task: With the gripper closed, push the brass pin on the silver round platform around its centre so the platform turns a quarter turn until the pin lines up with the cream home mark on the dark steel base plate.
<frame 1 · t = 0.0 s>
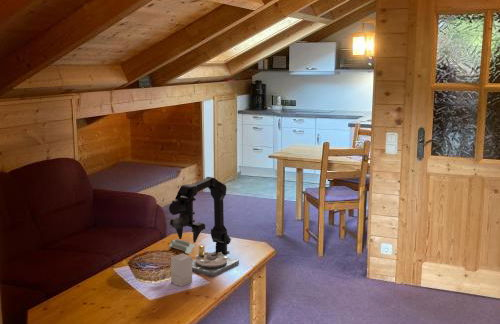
hand: (187, 240, 266), 15 cm above the table, tool pointing down, fingers open, 9 cm apart
supplement box: (181, 282, 252), on the table
base plate: (211, 266, 273), on the table
metal bracket: (181, 250, 298), on the table
silver round platform: (211, 255, 272), point 6 cm above the table, hinge at 0.0°
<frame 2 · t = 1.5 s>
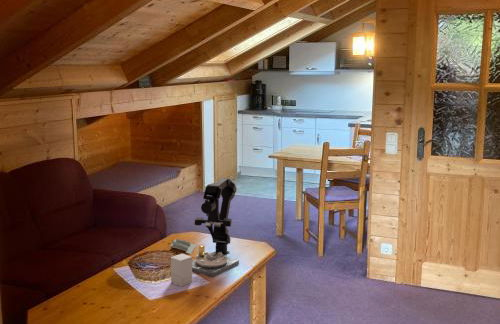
hand: (213, 237, 277), 13 cm above the table, tool pointing down, fingers closed
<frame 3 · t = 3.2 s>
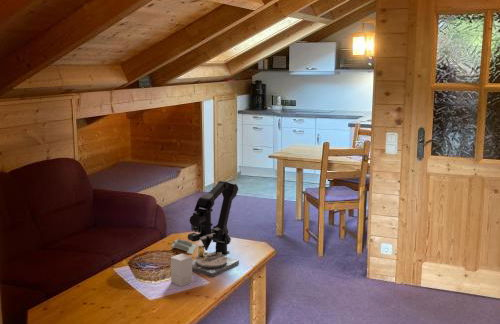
hand: (206, 250, 277), 7 cm above the table, tool pointing down, fingers closed
silver round platform: (211, 255, 272), point 6 cm above the table, hinge at 2.2°, touching gripper
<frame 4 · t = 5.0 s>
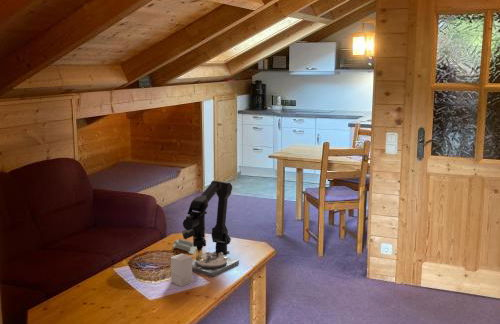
hand: (199, 253, 272), 7 cm above the table, tool pointing down, fingers closed
silver round platform: (211, 255, 272), point 6 cm above the table, hinge at 54.2°, touching gripper
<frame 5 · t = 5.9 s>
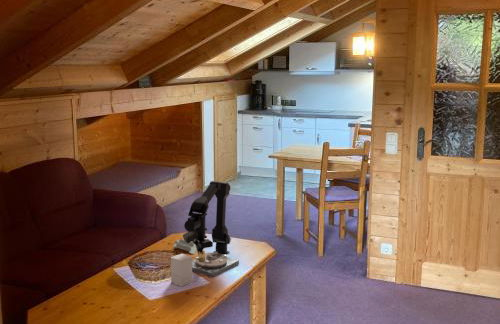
hand: (199, 255, 270), 7 cm above the table, tool pointing down, fingers closed
silver round platform: (211, 255, 272), point 6 cm above the table, hinge at 81.1°, touching gripper
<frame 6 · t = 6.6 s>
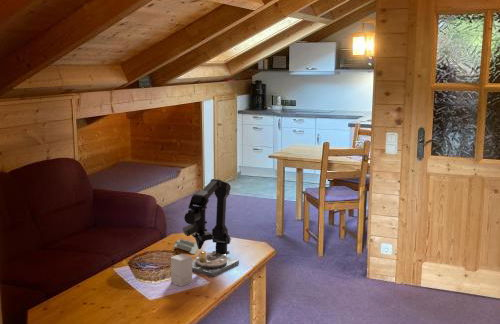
hand: (199, 249, 268), 10 cm above the table, tool pointing down, fingers closed
silver round platform: (211, 255, 272), point 6 cm above the table, hinge at 86.3°
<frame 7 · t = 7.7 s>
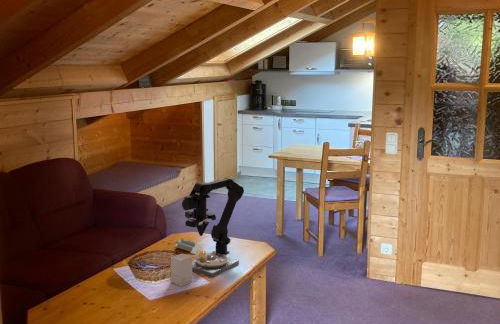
hand: (201, 235, 280), 13 cm above the table, tool pointing down, fingers closed
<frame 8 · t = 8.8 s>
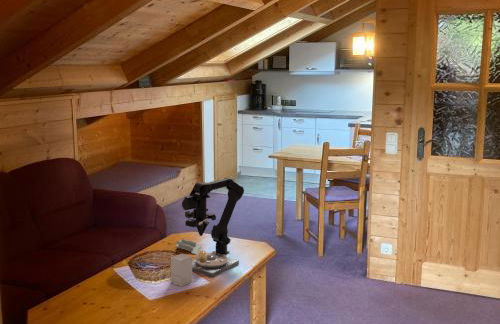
hand: (200, 235, 280), 13 cm above the table, tool pointing down, fingers closed
at the end: silver round platform at +86° (first picture: +0°); supplement box moved 0.2 cm from its start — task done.
